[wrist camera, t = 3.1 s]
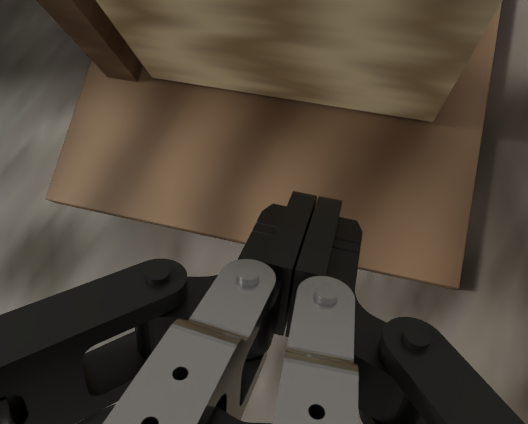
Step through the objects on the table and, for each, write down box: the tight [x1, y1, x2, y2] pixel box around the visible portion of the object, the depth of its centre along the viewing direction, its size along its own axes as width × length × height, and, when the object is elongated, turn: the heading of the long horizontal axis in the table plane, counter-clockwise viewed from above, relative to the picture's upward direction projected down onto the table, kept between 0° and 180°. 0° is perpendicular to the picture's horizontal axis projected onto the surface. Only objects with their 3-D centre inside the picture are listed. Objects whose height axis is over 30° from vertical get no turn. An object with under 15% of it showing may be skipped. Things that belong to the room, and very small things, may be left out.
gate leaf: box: [96, 0, 503, 122], centre depth 19 cm, size 17×2×12 cm, turn 77°
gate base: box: [37, 0, 502, 289], centre depth 19 cm, size 23×18×16 cm
